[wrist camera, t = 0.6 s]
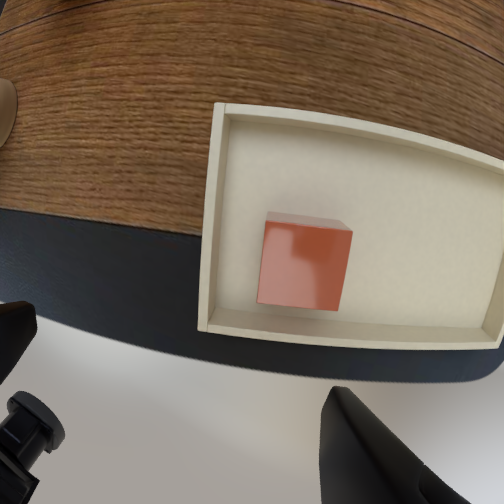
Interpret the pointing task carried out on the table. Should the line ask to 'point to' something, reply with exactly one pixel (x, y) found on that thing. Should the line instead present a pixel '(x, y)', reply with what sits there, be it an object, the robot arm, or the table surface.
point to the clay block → (303, 261)
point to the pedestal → (7, 108)
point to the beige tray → (355, 230)
